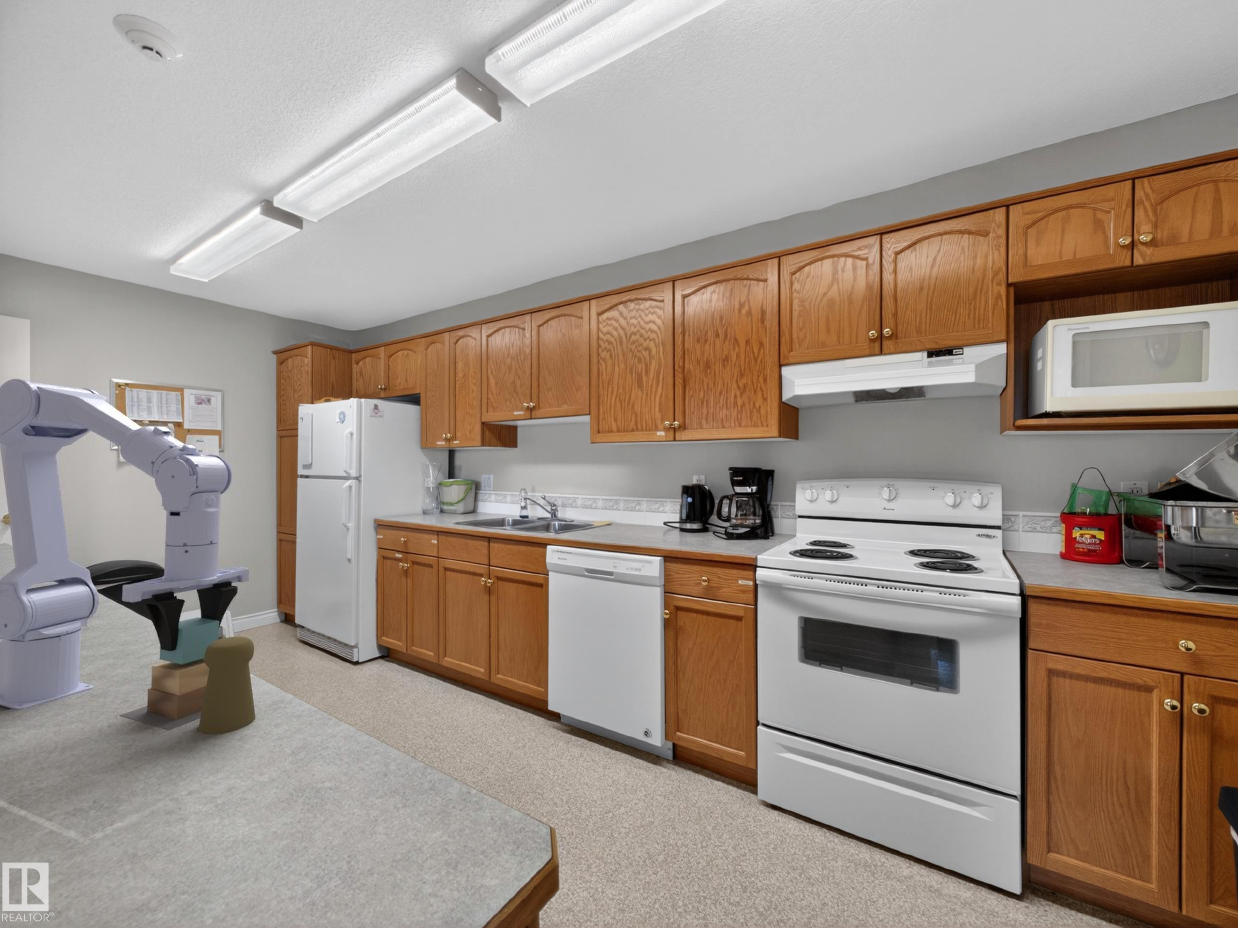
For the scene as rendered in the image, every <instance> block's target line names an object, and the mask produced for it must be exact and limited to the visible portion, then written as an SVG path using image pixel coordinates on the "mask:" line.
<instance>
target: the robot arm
mask: <svg viewBox="0 0 1238 928" xmlns="http://www.w3.org/2000/svg"><path fill="white" fill-rule="evenodd" d="M90 432H93V433H95V434H96V435H98V436H100V437H102V438H104V439H105V440H107V441H109V442H111V443H113V444H115V445H117V446H118V447H119V453H120V456H121V458H122V459H123V460H124V461H126V462H127V463H129V464H130V465H132V466H134V467H135V468H137V469H138V470H140V471H141V472H144V474H146V475H148V476H149V477H151V478H152V479H154V483H155V486H156V489H157V491H158V492H159V493H160V496H161V507H163V510H164V511H166V517H165V519H166V520H165V539H164V540H165V542H164V545H165V546H164V547H165V548H164V569H163V570H164V573H163V576H161V577H157V578H152V579H148V580H144V581H140V582H135V583H130V584H123V585H122V593H121V595H122V596H121V600H122V601H123V602H126V603H138V602H139V604H140V606H141V607H142V608H143V609H144V611H145V612H146V614H147V616H148V617H149V619H150V620H151V622H152V625H153V626H154V630H155V632H156V635H157V638H158V642H159V648H160V647H161V650H166V651H174V650H176V647H177V641H178V629H179V621H181V620H180V619H181V615H182V611H183V609H184V605H185V602H186V600H185V599H183V598H178V595H175V594H179V593H185V592H189V591H196V594H197V597H198V601H199V602H198V603H199V608H200V609H199V610H200V618H204V619H210V620H216V621H219V628H220V627H221V623H222V622H223V621H222V620H223V619H224V616H225V615H226V612H227V610H228V608H229V606H230V604H231V603H232V602H233V600H234V598H235V597H236V596H237V595H238V591H239V589H238V585H233V584H234V583H245V582H249V579H250V576H249V575H250V568H248V567H240V566H239V567H232V568H223V569H219V547H220V545H219V543H220V542H219V541H220V519H221V518H220V516H221V515H220V514H221V512H220V511H221V495H223V494H225V493H226V491H227V490H228V489H229V488H230V486H231V484H232V479H233V476H232V474H233V473H232V469H231V467H230V465H229V464H228V463H227V461H226V460H224V458H223V457H222V456H220V455H217V454H207V455H203V454H201V453H200V452H198V451H197V450H198V449H197V447H195V446H194V445H192V444H185V443H184V442H182V441H180V440H179V439H177V438H176V437H174V436H172V435H171V434H172V430H170V429H168V427H165V426H143V427H142V426H140V425H139V424H137V423H136V422H135V421H133V419H130V418H129V417H127V416H126V415H125V414H124V413H123V412H121V411H119V409H117V408H115V406H113V405H111V404H109V399H108V397H107V396H105V395H103V394H99V393H98V392H97V391H96V390H94V389H91V388H87V387H86V388H77V387H71V386H62V385H57V384H56V385H55V384H48V383H41V382H35V381H29V380H25V379H21V378H12V379H11V378H10V379H9V380H7V381H5V382H4V383H2V385H0V457H1V464H2V472H3V479H4V480H3V481H4V490H5V495H6V496H5V497H6V503H7V504H6V505H7V512H8V520H9V521H8V522H9V528H10V535H11V542H12V552H13V559H14V566H15V567H14V568H13V569H11V570H10V571H9V572H8V573H6V574H5V575H4V576H2V577H1V578H0V640H1V641H0V706H2V707H6V708H8V709H15V710H19V711H20V710H24V709H28V708H30V707H35V706H38V705H43V704H45V703H48V702H52V701H56V700H58V699H62V698H65V697H69V696H72V695H76V694H79V693H83V692H86V691H90V690H93V689H94V688H95V686H94V685H92V684H88V683H84V682H81V681H80V675H81V673H80V671H81V647H82V646H81V645H82V644H81V643H82V642H81V641H82V640H81V639H82V629H83V628H84V627H85V628H86V627H88V621H89V620H90V619H91V618H93V616H94V615H96V612H97V611H98V609H99V604H100V596H99V595H100V594H99V592H98V590H97V588H96V586H95V585H94V583H93V581H92V578H91V572H90V570H89V569H88V568H86V567H85V566H83V565H81V564H78V563H77V562H75V561H73V560H71V559H70V553H69V545H68V537H67V530H66V522H65V515H64V514H65V513H64V508H63V507H64V505H63V500H62V492H61V491H62V490H61V486H60V485H61V484H60V476H59V470H58V461H57V453H58V452H59V451H60V450H61V449H63V447H67V446H70V445H72V444H74V443H75V442H77V441H79V440H80V439H81V438H83V437H84V436H86V435H87V434H89V433H90ZM51 582H53V583H55V584H49V585H41V586H37V587H32V586H33V585H36V584H43V583H51ZM31 587H32V588H31Z"/></svg>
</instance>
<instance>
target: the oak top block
mask: <svg viewBox="0 0 1238 928" xmlns="http://www.w3.org/2000/svg"><path fill="white" fill-rule="evenodd" d="M208 674H209V668H208V666H207V665H206V664H205V661H204V658H202V659H199V660H195V661H192V662H188V663H185V664H178V663H173V662H169V661H164V662H161V663H157V664H153V665H151V687H150V688H151V689H155V690H159V691H163V692H167V693H171V694H175V695H181V694H184V693H187V692H190V691H193V690H195V689H198V688H201V687H204V686H206V685H207V680H208Z"/></svg>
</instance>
